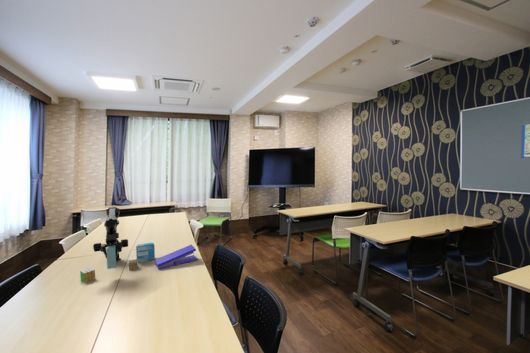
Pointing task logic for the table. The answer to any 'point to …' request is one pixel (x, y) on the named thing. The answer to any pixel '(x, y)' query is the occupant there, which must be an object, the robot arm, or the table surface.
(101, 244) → the robot arm
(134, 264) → the walnut cube
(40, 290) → the table surface
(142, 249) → the data package
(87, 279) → the puzzle toy
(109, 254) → the teal block
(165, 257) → the stapler
